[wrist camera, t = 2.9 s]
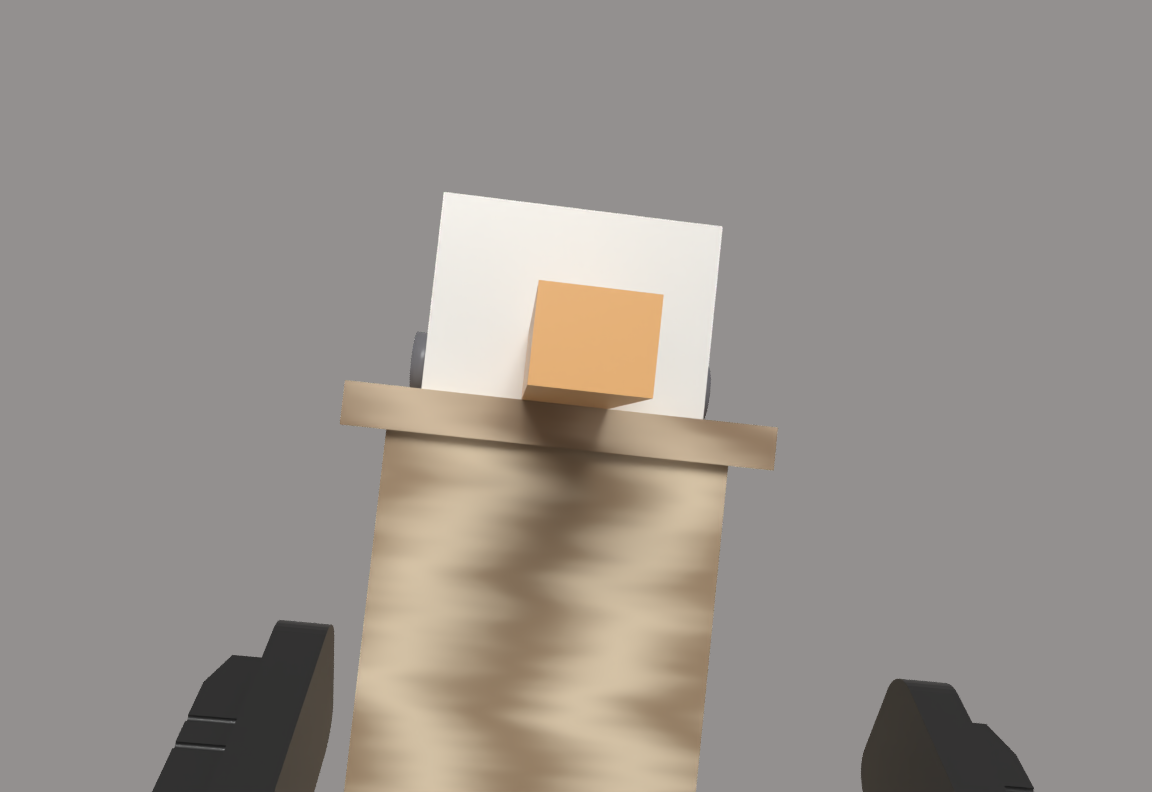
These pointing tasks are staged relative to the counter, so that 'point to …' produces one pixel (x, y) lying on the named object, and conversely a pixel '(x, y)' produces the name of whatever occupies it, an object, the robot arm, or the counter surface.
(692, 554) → the dock pedestal
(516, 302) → the white box with knobs
